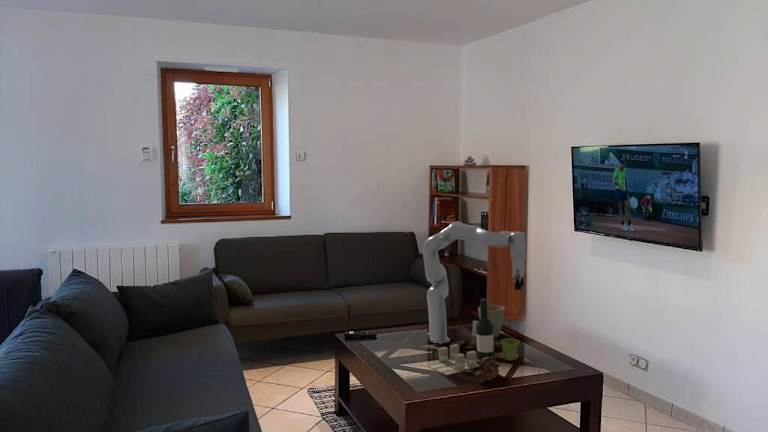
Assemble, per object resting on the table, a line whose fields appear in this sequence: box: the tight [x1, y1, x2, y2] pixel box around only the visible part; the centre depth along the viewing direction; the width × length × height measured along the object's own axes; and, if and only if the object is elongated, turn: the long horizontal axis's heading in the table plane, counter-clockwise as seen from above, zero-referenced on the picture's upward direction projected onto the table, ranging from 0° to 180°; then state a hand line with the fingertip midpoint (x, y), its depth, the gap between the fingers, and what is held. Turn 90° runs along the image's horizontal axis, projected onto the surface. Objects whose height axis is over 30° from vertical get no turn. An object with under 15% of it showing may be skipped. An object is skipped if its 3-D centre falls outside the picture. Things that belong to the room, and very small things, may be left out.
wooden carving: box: [474, 356, 501, 383], centre depth 260 cm, size 16×5×10 cm, turn 139°
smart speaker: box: [471, 320, 479, 347], centre depth 311 cm, size 10×9×14 cm
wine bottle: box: [476, 298, 495, 361], centre depth 289 cm, size 8×8×30 cm
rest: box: [426, 343, 480, 376], centre depth 280 cm, size 16×20×8 cm
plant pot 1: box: [477, 304, 505, 338], centre depth 328 cm, size 15×15×16 cm
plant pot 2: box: [499, 338, 520, 361], centre depth 287 cm, size 9×9×9 cm
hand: (519, 287), depth 304 cm, fingers open, 9 cm apart
